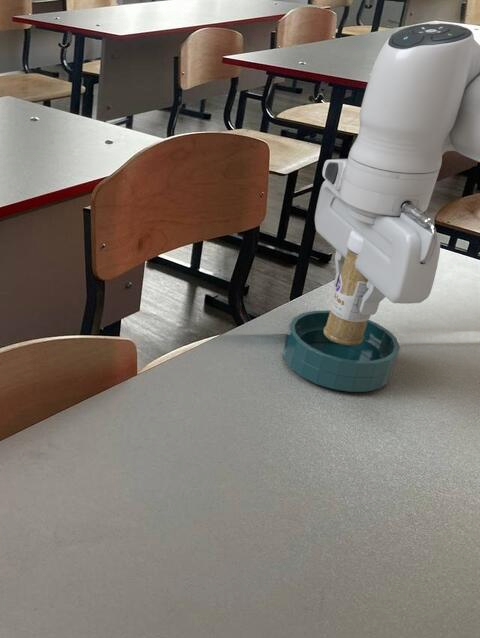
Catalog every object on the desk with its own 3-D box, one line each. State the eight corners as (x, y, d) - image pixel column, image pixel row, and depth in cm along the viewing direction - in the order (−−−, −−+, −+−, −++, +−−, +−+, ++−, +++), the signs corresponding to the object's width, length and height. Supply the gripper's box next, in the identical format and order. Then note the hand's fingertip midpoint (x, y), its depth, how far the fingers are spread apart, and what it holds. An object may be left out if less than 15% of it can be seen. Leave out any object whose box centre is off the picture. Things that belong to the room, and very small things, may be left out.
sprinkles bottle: (317, 327, 92) (344, 225, 86) (354, 328, 92) (384, 226, 86) (331, 347, 88) (360, 241, 82) (370, 348, 88) (403, 242, 82)
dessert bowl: (359, 339, 98) (368, 309, 96) (409, 395, 88) (420, 362, 85) (267, 341, 98) (274, 310, 95) (306, 397, 87) (315, 364, 85)
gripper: (472, 224, 72) (428, 347, 79) (369, 157, 90) (341, 262, 97) (408, 224, 72) (370, 348, 79) (317, 157, 90) (293, 262, 97)
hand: (353, 300), depth 88 cm, fingers closed on sprinkles bottle, 4 cm apart
